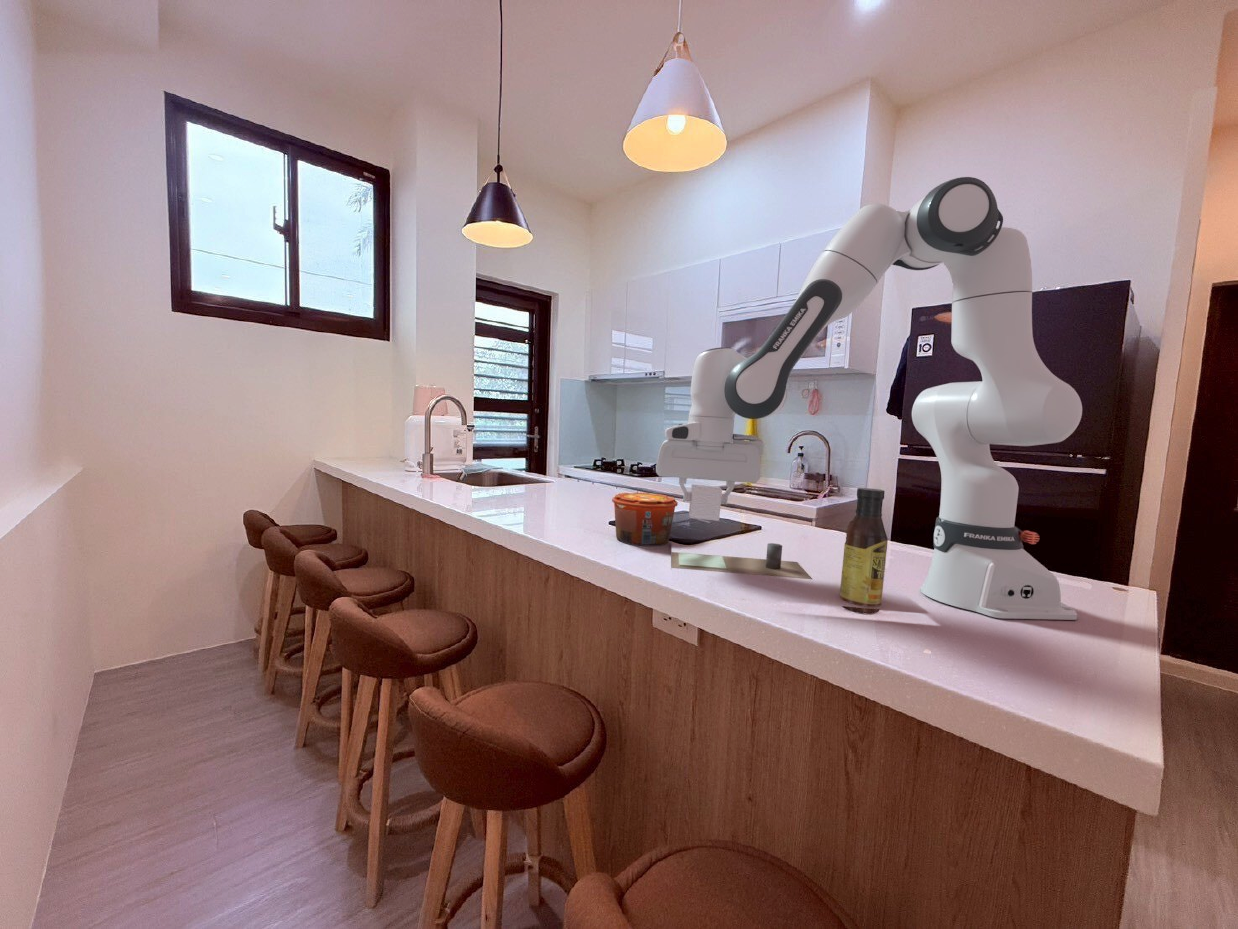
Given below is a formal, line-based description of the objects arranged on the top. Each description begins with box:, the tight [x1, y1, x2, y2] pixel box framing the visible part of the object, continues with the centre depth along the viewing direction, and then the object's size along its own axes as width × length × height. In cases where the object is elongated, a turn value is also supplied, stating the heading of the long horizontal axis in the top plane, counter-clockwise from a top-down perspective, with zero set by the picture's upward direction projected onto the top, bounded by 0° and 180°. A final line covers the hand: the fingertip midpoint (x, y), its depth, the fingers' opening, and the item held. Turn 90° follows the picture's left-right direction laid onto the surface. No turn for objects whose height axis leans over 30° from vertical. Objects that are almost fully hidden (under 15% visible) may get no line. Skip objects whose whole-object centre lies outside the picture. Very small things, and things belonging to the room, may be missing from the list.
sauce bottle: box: [839, 487, 888, 615], centre depth 84 cm, size 6×6×20 cm
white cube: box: [688, 483, 723, 522], centre depth 102 cm, size 6×6×6 cm
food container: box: [611, 492, 679, 547], centre depth 126 cm, size 16×16×11 cm
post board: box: [670, 542, 813, 580], centre depth 102 cm, size 26×12×6 cm, turn 84°
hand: (704, 502), depth 102 cm, fingers closed on white cube, 6 cm apart
